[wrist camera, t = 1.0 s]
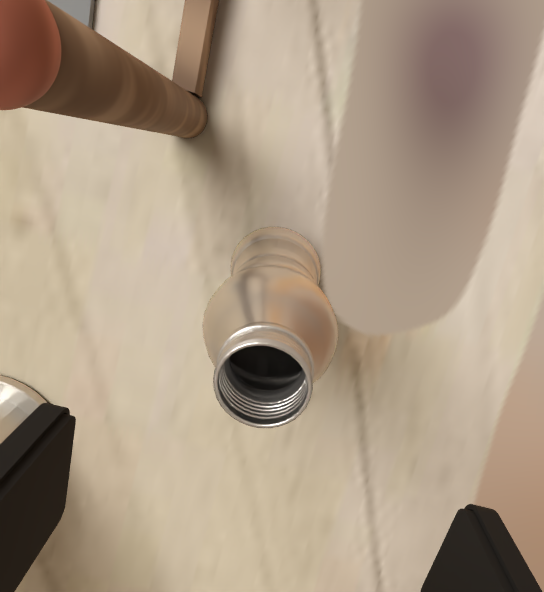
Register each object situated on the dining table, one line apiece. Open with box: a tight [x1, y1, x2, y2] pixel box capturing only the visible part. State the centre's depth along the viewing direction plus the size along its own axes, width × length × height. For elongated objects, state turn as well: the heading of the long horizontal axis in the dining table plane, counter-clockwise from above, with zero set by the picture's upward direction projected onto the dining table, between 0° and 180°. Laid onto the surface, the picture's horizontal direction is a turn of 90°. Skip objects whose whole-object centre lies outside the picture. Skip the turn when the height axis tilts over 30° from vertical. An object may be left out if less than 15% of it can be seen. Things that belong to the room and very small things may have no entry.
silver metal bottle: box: [203, 227, 338, 428], centre depth 26 cm, size 6×7×20 cm
